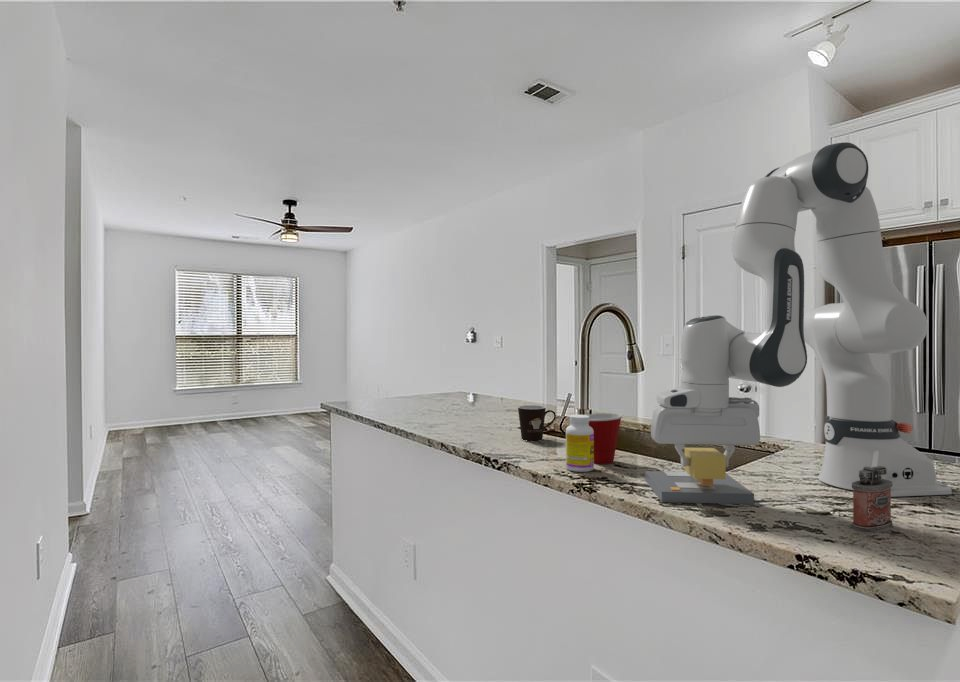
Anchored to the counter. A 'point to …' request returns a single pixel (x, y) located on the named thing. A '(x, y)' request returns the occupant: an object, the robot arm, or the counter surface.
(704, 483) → the block
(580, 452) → the supplement bottle
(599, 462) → the plastic cup
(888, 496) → the lighter
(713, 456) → the yellow block
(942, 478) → the counter surface
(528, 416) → the coffee mug
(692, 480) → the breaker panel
